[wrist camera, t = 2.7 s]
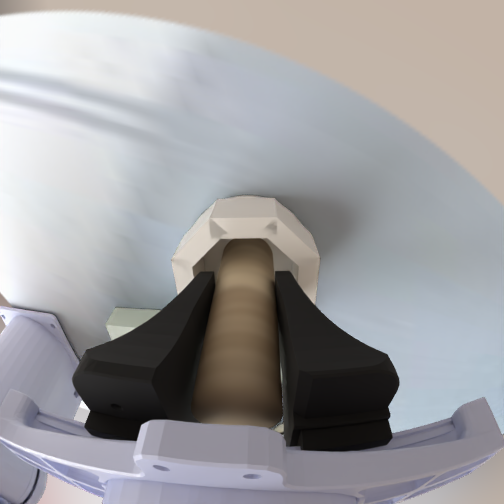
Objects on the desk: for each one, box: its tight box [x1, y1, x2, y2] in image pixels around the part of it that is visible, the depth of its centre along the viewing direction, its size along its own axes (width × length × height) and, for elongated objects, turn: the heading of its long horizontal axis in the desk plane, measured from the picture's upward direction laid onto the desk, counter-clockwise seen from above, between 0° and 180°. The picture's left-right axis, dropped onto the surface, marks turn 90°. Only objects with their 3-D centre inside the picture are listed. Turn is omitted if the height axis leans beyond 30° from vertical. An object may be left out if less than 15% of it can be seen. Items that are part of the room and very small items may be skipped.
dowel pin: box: [191, 238, 283, 428], centre depth 11 cm, size 3×3×9 cm
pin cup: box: [171, 195, 320, 305], centre depth 14 cm, size 6×6×3 cm
